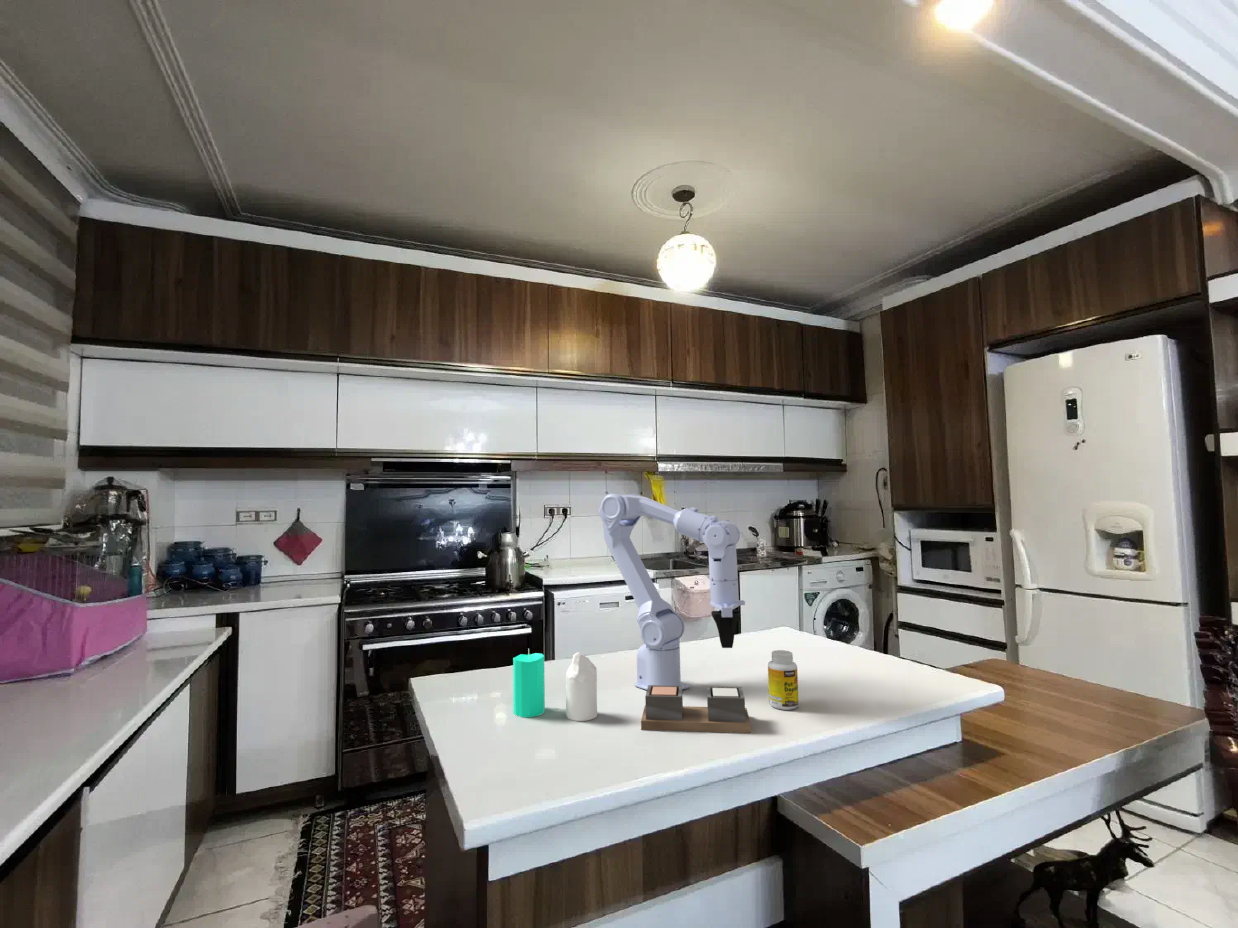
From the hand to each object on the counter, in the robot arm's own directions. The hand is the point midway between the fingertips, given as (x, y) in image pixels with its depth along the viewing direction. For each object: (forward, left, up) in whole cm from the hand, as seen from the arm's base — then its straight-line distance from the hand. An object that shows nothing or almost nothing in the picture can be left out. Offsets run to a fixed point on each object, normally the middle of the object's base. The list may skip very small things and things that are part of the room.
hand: (727, 647), depth 116 cm
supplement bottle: (+10, +5, -11) cm, 15 cm away
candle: (-22, -33, -11) cm, 41 cm away
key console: (+4, -14, -10) cm, 18 cm away
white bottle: (-13, -27, -11) cm, 32 cm away
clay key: (0, -18, -7) cm, 19 cm away
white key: (+8, -10, -7) cm, 15 cm away
